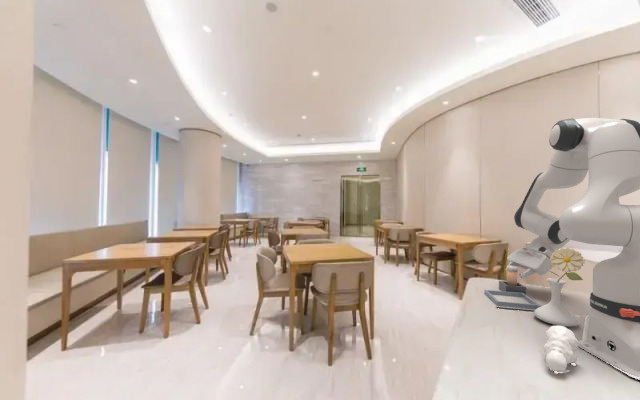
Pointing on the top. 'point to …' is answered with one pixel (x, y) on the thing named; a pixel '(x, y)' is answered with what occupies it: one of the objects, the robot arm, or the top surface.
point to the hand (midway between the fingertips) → (514, 274)
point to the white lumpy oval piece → (560, 348)
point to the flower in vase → (554, 309)
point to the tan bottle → (512, 275)
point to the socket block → (512, 287)
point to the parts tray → (511, 304)
